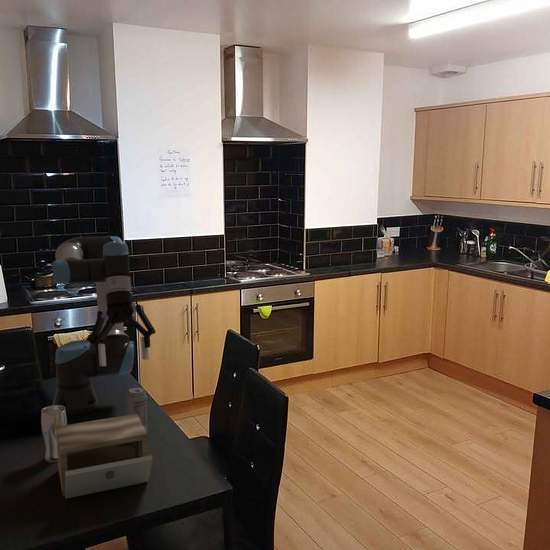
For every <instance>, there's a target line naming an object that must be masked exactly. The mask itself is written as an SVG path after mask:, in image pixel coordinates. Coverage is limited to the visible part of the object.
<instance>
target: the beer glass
mask: <svg viewBox="0 0 550 550" xmlns="http://www.w3.org/2000/svg"><path fill="white" fill-rule="evenodd" d="M40 412H41V415H40V426H41V432H42V436H43V441H44V444H45V455H44V461H46V462H48V463H51V464H52V463H58V451H57V434H56V427H57V426H63V425H68V420H67V419H68V418H67V417H68V416H67V415H66V410H65V407H64V406H62V405H53V404H52V405H47V406H45V407H43V408H42V409H41V411H40Z"/></svg>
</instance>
